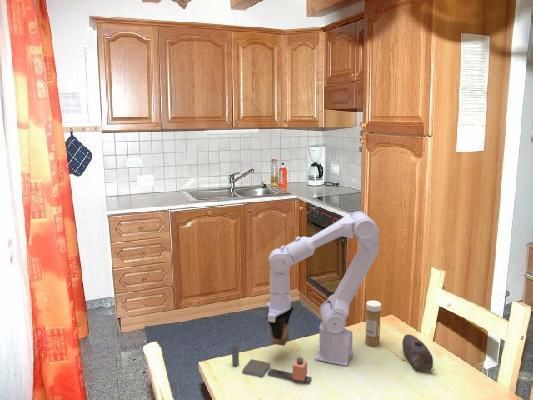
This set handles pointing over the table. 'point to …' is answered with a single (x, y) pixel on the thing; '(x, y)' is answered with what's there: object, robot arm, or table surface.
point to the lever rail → (287, 376)
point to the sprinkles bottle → (373, 323)
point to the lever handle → (299, 369)
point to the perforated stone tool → (417, 353)
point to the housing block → (283, 339)
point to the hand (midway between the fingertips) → (280, 334)
